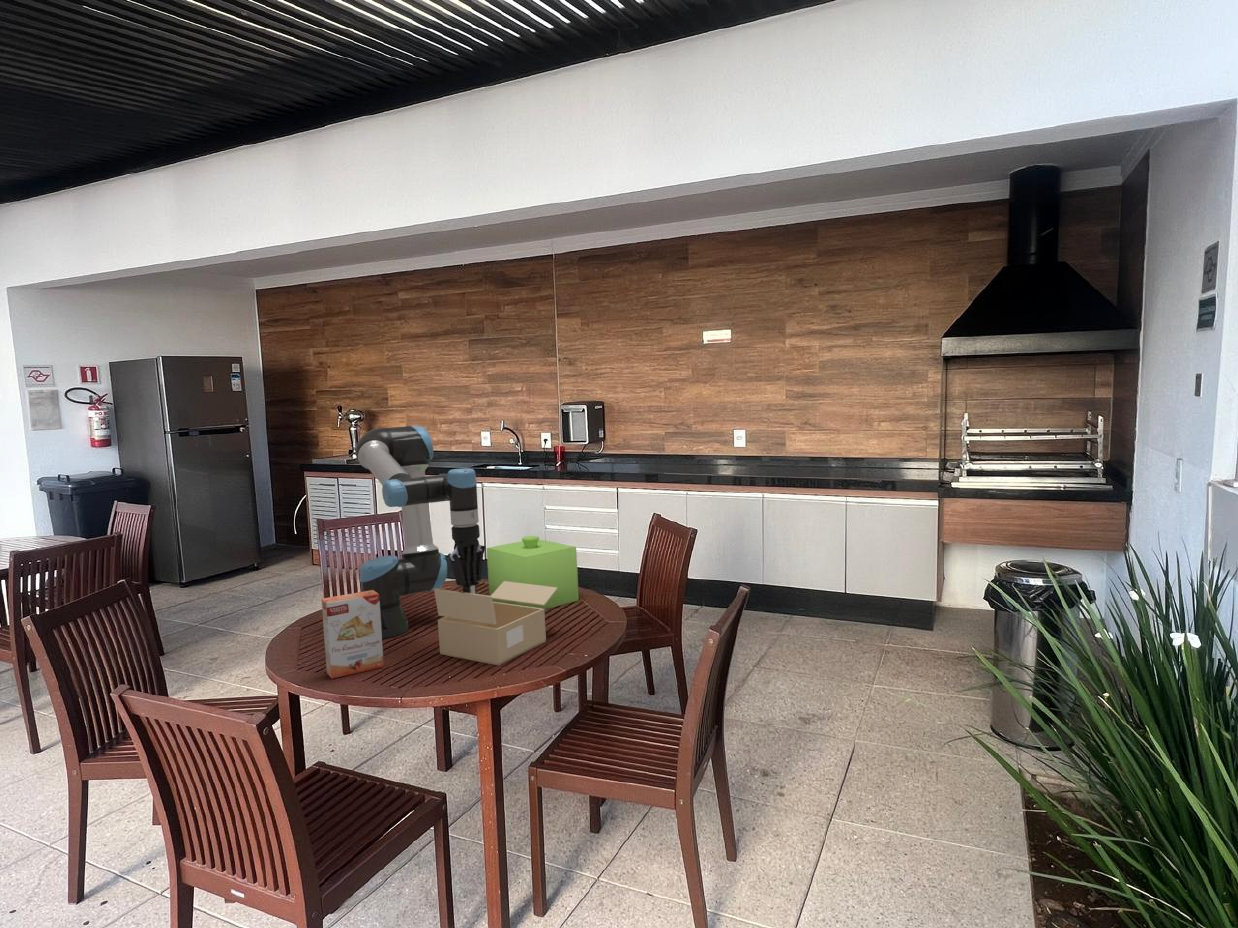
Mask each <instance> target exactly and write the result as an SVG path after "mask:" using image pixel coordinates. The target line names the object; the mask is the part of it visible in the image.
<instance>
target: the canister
mask: <svg viewBox="0 0 1238 928" xmlns="http://www.w3.org/2000/svg"><path fill="white" fill-rule="evenodd" d="M486 560H487V561H486V562H487V577H488V579H487V580H488V594H489V595H488V596H491V595H492V594H493V593H494V592H495V590H496V589H497V588H498V587H499V586H500V585H501V584H502V583H503V582H504V581H507V582H516V583H524V584H532V585H541V586H549V587H557V588H558V590H557V591H556V592H555V593H554V595H553V596H552V597H551V598H550V600H549V601H548V602H547V603H546V605H545V606H540V605H533V604H525V603H518V602H511V601H504V600H496V599H492V600H493V602H499V603H506V604H513V605H520V606H527V607H535V608H542V609H544V611H545V610H548V609H551V608H555V607H559V606H563V605H567V604H571V603H573V602H574V603H575V602H578V601H579V600H580V599H579V578H578V577H579V575H578V556H577V547H576V546H573V545H568V544H564V543H560V542H559V543H558V542H554V541H550V540H549V541H548V540H544V539H540V537H539V536H538V535H526V536H523V537H522V538H521V541H516V542H511V543H506V544H500V545H496V546H490V547H487V548H486Z"/></svg>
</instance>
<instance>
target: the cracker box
mask: <svg viewBox="0 0 1238 928" xmlns="http://www.w3.org/2000/svg"><path fill="white" fill-rule="evenodd" d="M321 608H322V625H323V639H324V640H323V641H324V653H325V665H326V666H325V667H326V674H327V675H328V676H329V677H330V679H337V678H342V677H345V676H350V675H353V674H359V673H363V672H368V671H372V670H376V669H379V668H384V649H383V648H384V647H383V639H382V631H381V614H380V599H379V594H378V593H377V592H375V591H374V590H369V591H364V592H361V591H360V592H353V593H347V594H342V595H335V596H328V597H325V598H321Z"/></svg>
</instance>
